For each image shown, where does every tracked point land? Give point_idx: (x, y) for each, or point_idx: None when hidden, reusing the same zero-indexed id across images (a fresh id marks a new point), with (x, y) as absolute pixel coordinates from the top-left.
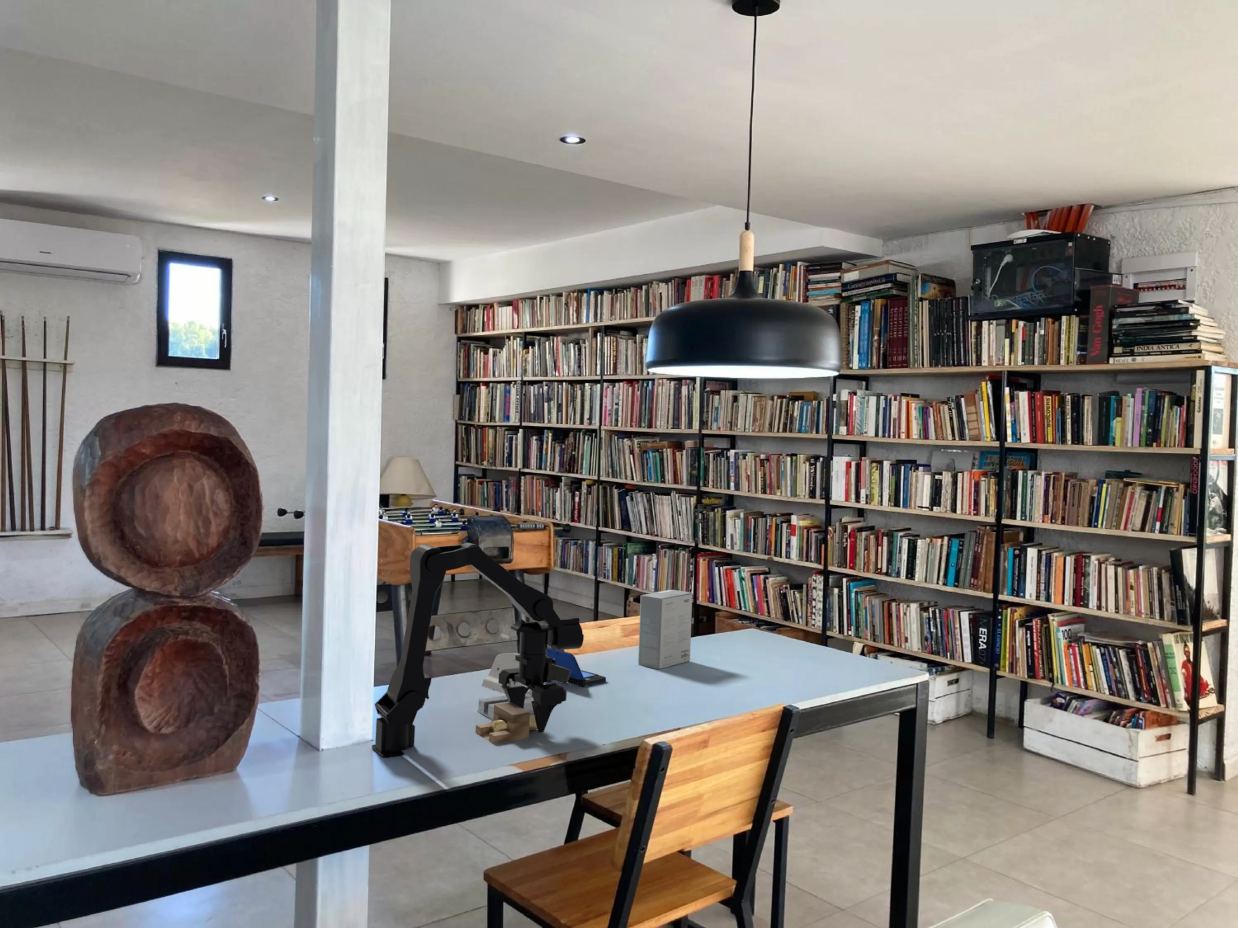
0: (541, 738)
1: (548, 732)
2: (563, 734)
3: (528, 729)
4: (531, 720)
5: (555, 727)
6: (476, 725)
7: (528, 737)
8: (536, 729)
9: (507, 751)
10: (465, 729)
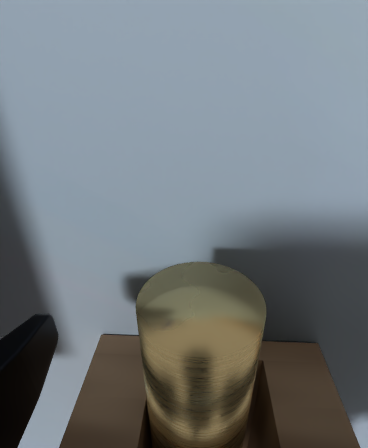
0: (319, 266)
1: (237, 159)
2: (362, 63)
3: (347, 420)
4: (248, 385)
5: (139, 13)
6: None
7: (326, 366)
8: (224, 270)
9: (359, 440)
10: (33, 433)
